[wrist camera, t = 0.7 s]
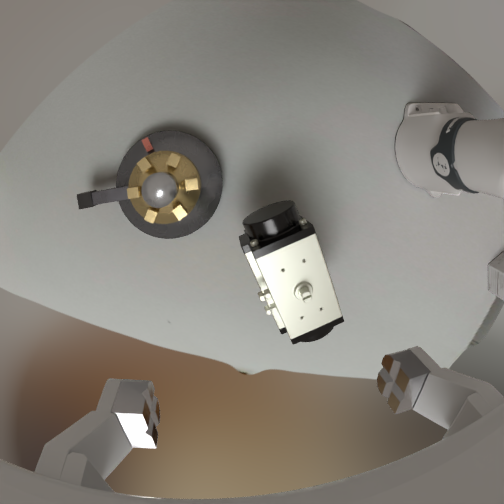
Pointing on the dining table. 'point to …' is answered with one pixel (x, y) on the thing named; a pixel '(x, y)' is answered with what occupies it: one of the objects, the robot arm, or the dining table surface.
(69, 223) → the dining table surface
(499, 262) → the supplement box
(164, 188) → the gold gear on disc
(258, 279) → the ball valve
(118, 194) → the lever handle valve
